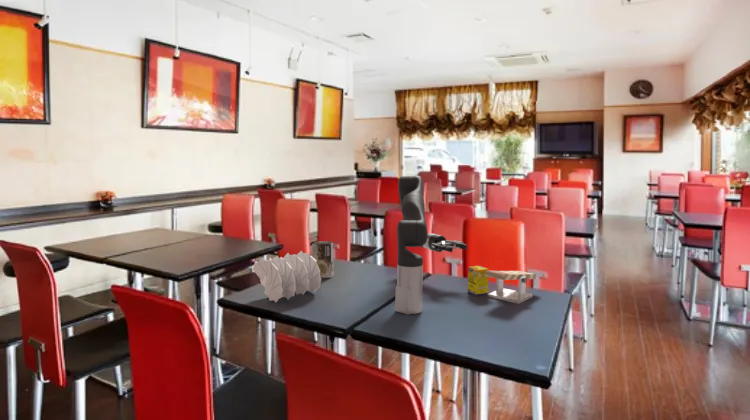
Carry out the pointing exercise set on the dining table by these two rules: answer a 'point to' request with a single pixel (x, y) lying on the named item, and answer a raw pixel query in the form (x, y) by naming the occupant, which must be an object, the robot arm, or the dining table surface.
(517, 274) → the beam
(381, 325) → the dining table surface
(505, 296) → the beam stand
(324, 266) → the coffee box
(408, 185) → the robot arm
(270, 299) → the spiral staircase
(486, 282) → the supplement box
